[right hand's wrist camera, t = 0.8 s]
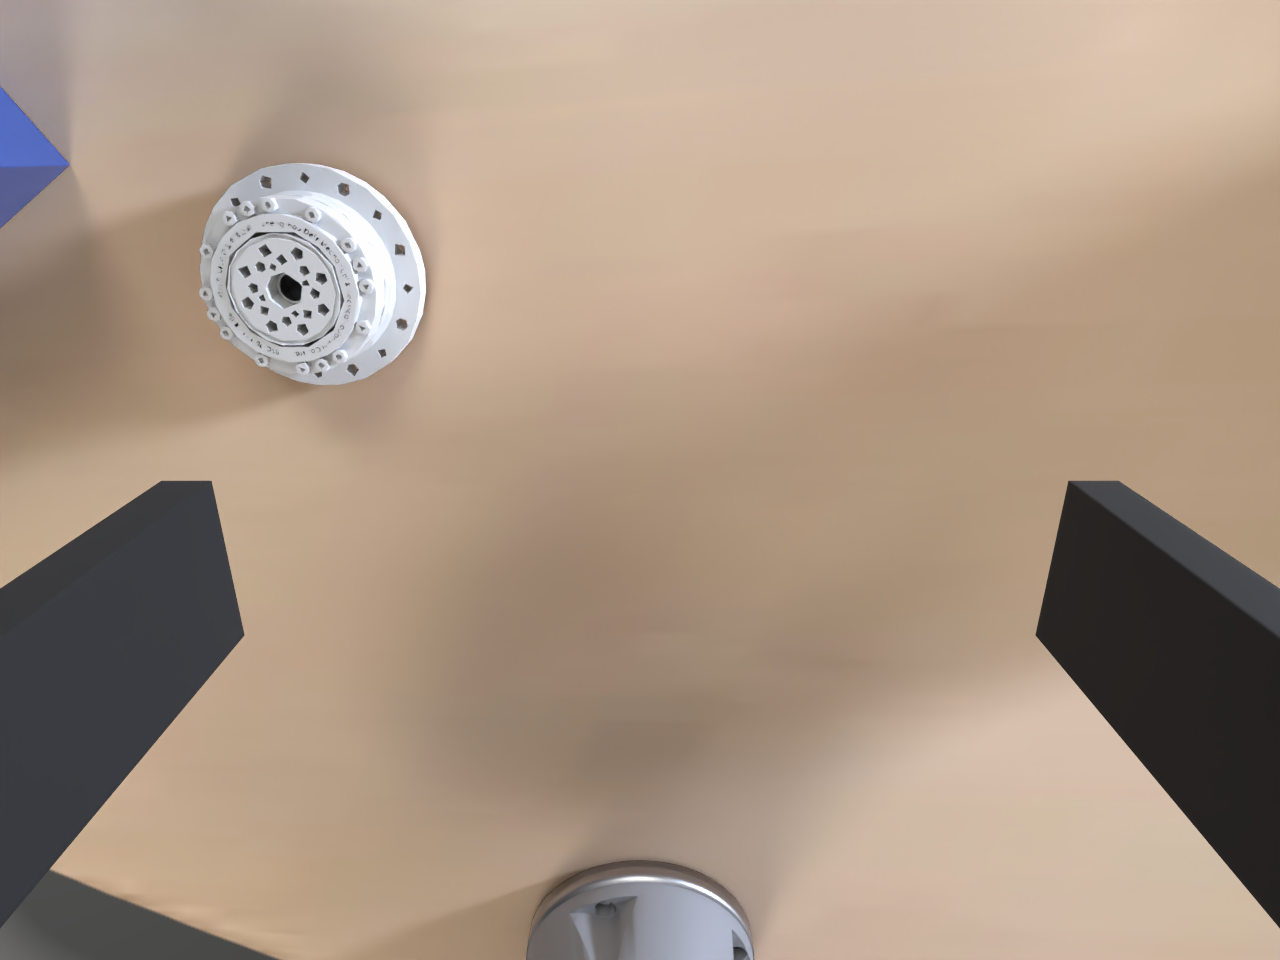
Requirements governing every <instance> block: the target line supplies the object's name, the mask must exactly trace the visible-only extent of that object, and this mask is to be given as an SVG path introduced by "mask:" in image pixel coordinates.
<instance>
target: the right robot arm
mask: <svg viewBox="0 0 1280 960" xmlns="http://www.w3.org/2000/svg"><path fill="white" fill-rule="evenodd" d="M243 636H244V631H243V626H242V622H241V617H240V612H239V608H238V603H237V598H236V594H235V589H234V584H233V580H232V575H231V570H230V566H229V561H228V556H227V551H226V547H225V542H224V537H223V533H222V528H221V523H220V519H219V514H218V509H217V505H216V500H215V495H214V491H213V486H212V481H161V482H159V483H158V484H156V485H155V486H153V487H152V488H150V489H149V490H147V491H146V492H144V493H143V494H141V495H140V496H138V497H137V498H135V499H134V500H132V501H131V502H129V503H128V504H126V505H125V506H123V507H122V508H120V509H119V510H117V511H116V512H114V513H113V514H111V515H110V516H108V517H107V518H105V519H104V520H102V521H101V522H99V523H98V524H96V525H95V526H93V527H92V528H90V529H89V530H87V531H86V532H84V533H83V534H81V535H80V536H78V537H77V538H75V539H74V540H72V541H71V542H69V543H68V544H66V545H65V546H63V547H62V548H60V549H59V550H57V551H56V552H54V553H53V554H51V555H50V556H48V557H47V558H46V559H44V560H43V561H41V562H40V563H38V564H37V565H35V566H34V567H32V568H31V569H29V570H28V571H26V572H25V573H23V574H22V575H20V576H19V577H17V578H16V579H14V580H13V581H11V582H10V583H8V584H7V585H5V586H4V587H2V588H1V589H0V928H1V927H2V925H3V924H4V923H5V922H6V921H7V919H8V918H9V917H10V916H11V914H12V913H13V912H14V911H15V910H16V908H17V907H18V906H19V905H20V904H21V903H22V901H23V900H24V899H25V898H26V897H27V895H28V894H29V893H30V892H31V891H32V889H33V888H34V887H35V886H36V885H37V883H38V882H39V881H40V880H41V879H42V877H43V876H44V875H45V874H46V873H47V871H48V870H49V869H50V868H51V867H52V865H53V864H54V863H55V862H56V861H57V859H58V858H59V857H60V856H61V855H62V853H63V852H64V851H65V850H66V849H67V847H68V846H69V845H70V844H71V843H72V841H73V840H74V839H75V838H76V837H77V835H78V834H79V833H80V832H81V831H82V829H83V828H84V827H85V826H86V825H87V823H88V822H89V821H90V820H91V819H92V817H93V816H94V815H95V814H96V813H97V811H98V810H99V809H100V808H101V807H102V805H103V804H104V803H105V802H106V801H107V799H108V798H109V797H110V796H111V795H112V793H113V792H114V791H115V790H116V789H117V787H118V786H119V785H120V784H121V783H122V781H123V780H124V779H125V778H126V777H127V775H128V774H129V773H130V772H131V771H132V769H133V768H134V767H135V766H136V765H137V763H138V762H139V761H140V760H141V759H142V757H143V756H144V755H145V754H146V753H147V751H148V750H149V749H150V748H151V747H152V745H153V744H154V743H155V742H156V741H157V739H158V738H159V737H160V736H161V735H162V733H163V732H164V731H165V730H166V729H167V727H168V726H169V725H170V724H171V723H172V721H173V720H174V719H175V718H176V717H177V715H178V714H179V713H180V712H181V711H182V709H183V708H184V707H185V706H186V705H187V703H188V702H189V701H190V700H191V699H192V697H193V696H194V695H195V694H196V693H197V691H198V690H199V689H200V688H201V687H202V685H203V684H204V683H205V682H206V681H207V679H208V678H209V677H210V676H211V675H212V674H213V672H214V671H215V670H216V669H217V668H218V666H219V665H220V664H221V663H222V662H223V660H224V659H225V658H226V657H227V656H228V654H229V653H230V652H231V651H232V650H233V648H234V647H235V646H236V645H237V644H238V642H239V641H240V640H241V639H242V638H243ZM1036 636H1037V638H1038V639H1039V640H1040V641H1041V642H1042V644H1043V645H1044V646H1045V647H1046V648H1047V650H1048V651H1049V652H1050V653H1051V654H1052V656H1053V657H1054V658H1055V659H1056V660H1057V662H1058V663H1059V664H1060V665H1061V666H1062V668H1063V669H1064V670H1065V671H1066V672H1067V674H1068V675H1069V676H1070V677H1071V678H1072V680H1073V681H1074V682H1075V683H1076V684H1077V685H1078V687H1079V688H1080V689H1081V690H1082V691H1083V693H1084V694H1085V695H1086V696H1087V697H1088V699H1089V700H1090V701H1091V702H1092V703H1093V705H1094V706H1095V707H1096V708H1097V709H1098V711H1099V712H1100V713H1101V714H1102V715H1103V717H1104V718H1105V719H1106V720H1107V721H1108V723H1109V724H1110V725H1111V726H1112V727H1113V729H1114V730H1115V731H1116V732H1117V733H1118V735H1119V736H1120V737H1121V738H1122V739H1123V741H1124V742H1125V743H1126V744H1127V745H1128V747H1129V748H1130V749H1131V750H1132V751H1133V753H1134V754H1135V755H1136V756H1137V757H1138V759H1139V760H1140V761H1141V762H1142V763H1143V765H1144V766H1145V767H1146V768H1147V769H1148V771H1149V772H1150V773H1151V774H1152V775H1153V777H1154V778H1155V779H1156V780H1157V781H1158V783H1159V784H1160V785H1161V786H1162V787H1163V789H1164V790H1165V791H1166V792H1167V793H1168V795H1169V796H1170V797H1171V798H1172V799H1173V801H1174V802H1175V803H1176V804H1177V805H1178V807H1179V808H1180V809H1181V810H1182V811H1183V813H1184V814H1185V815H1186V816H1187V817H1188V819H1189V820H1190V821H1191V822H1192V823H1193V825H1194V826H1195V827H1196V828H1197V829H1198V831H1199V832H1200V833H1201V834H1202V835H1203V837H1204V838H1205V839H1206V840H1207V841H1208V843H1209V844H1210V845H1211V846H1212V847H1213V849H1214V850H1215V851H1216V852H1217V853H1218V855H1219V856H1220V857H1221V858H1222V859H1223V861H1224V862H1225V863H1226V864H1227V865H1228V867H1229V868H1230V869H1231V870H1232V871H1233V873H1234V874H1235V875H1236V876H1237V877H1238V879H1239V880H1240V881H1241V882H1242V883H1243V885H1244V886H1245V887H1246V888H1247V889H1248V891H1249V892H1250V893H1251V894H1252V895H1253V897H1254V898H1255V899H1256V900H1257V901H1258V903H1259V904H1260V905H1261V906H1262V907H1263V909H1264V910H1265V911H1266V912H1267V913H1268V915H1269V916H1270V917H1271V918H1272V919H1273V921H1274V922H1275V923H1276V924H1277V925H1278V927H1279V928H1280V589H1279V588H1278V587H1276V586H1275V585H1273V584H1272V583H1270V582H1269V581H1267V580H1266V579H1264V578H1263V577H1261V576H1260V575H1258V574H1257V573H1255V572H1254V571H1252V570H1251V569H1249V568H1248V567H1246V566H1245V565H1243V564H1242V563H1240V562H1239V561H1237V560H1236V559H1234V558H1233V557H1232V556H1230V555H1229V554H1227V553H1226V552H1224V551H1223V550H1221V549H1220V548H1218V547H1217V546H1215V545H1214V544H1212V543H1211V542H1209V541H1208V540H1206V539H1205V538H1203V537H1202V536H1200V535H1199V534H1197V533H1196V532H1194V531H1193V530H1191V529H1190V528H1188V527H1187V526H1185V525H1184V524H1182V523H1181V522H1179V521H1178V520H1176V519H1175V518H1173V517H1172V516H1170V515H1169V514H1167V513H1166V512H1164V511H1163V510H1161V509H1160V508H1158V507H1157V506H1155V505H1154V504H1152V503H1151V502H1149V501H1148V500H1146V499H1145V498H1143V497H1142V496H1140V495H1139V494H1137V493H1136V492H1134V491H1133V490H1131V489H1130V488H1128V487H1127V486H1125V485H1124V484H1122V483H1121V482H1119V481H1068V486H1067V491H1066V495H1065V500H1064V505H1063V509H1062V514H1061V519H1060V523H1059V528H1058V533H1057V537H1056V542H1055V547H1054V551H1053V556H1052V561H1051V566H1050V570H1049V575H1048V580H1047V584H1046V589H1045V594H1044V598H1043V603H1042V608H1041V612H1040V617H1039V622H1038V626H1037V631H1036ZM526 960H754V951H753V944H752V936H751V930H750V925H749V922H748V919H747V916H746V914H745V912H744V910H743V908H742V907H741V905H740V904H739V902H738V901H737V900H736V899H735V898H734V897H733V895H732V894H731V893H729V892H728V891H727V890H726V889H725V888H724V887H723V886H721V885H720V884H719V883H717V882H716V881H714V880H712V879H711V878H709V877H707V876H705V875H703V874H701V873H699V872H696V871H694V870H692V869H689V868H686V867H682V866H679V865H675V864H670V863H664V862H658V861H622V862H615V863H610V864H605V865H601V866H597V867H594V868H591V869H588V870H586V871H583V872H581V873H579V874H577V875H575V876H573V877H571V878H569V879H568V880H566V881H564V882H563V883H561V884H560V885H559V886H557V887H556V888H555V889H554V890H553V891H552V892H551V893H550V894H549V895H548V896H547V897H546V898H545V899H544V900H543V902H542V903H541V904H540V906H539V907H538V909H537V911H536V913H535V915H534V918H533V920H532V923H531V928H530V934H529V941H528V948H527V957H526Z"/></svg>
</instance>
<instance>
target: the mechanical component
mask: <svg viewBox="0 0 1280 960" xmlns="http://www.w3.org/2000/svg"><path fill="white" fill-rule="evenodd" d="M270 180H271V183H270ZM347 185H349V192H347V191H346V190H345V189H346V186H347ZM380 213H382V215H381V217H380ZM400 245H403V246H405V253H402V252H401V248H400ZM199 251H200V254H201V264H200V275H201V282H202V288H200V291H199V295H200V297H201V298H202V299H203V300H205V302H206V304H207V306H208V308H209V310H208V311H207V316H208V317H209V319H210V320H212V321H215V323H216V324H217V325H218V326H219V328H220V336H221V337H222V338H223V339H225V340H229V341H230V342H231V343H232V344H233V345H234V346H235V347H237V348H238V349H239V350H241V351H242V352H243V353H245V354H246V355H247V356H249V357H250V358H251V359H253V360H255V362H256V364H257V365H258V366H261V367H267V368H269V369H270V370H272V371H274V372H275V373H277V374H280V375H282V376H285V377H288V378H290V379H293V380H296V381H299V382H305V383H310V384H316V385H341V384H345V383H349V382H353V381H357V380H360V379H364V378H367V377H369V376H370V375H372V374H373V373H375V372H377V371H378V370H380V369H381V368H383V367H384V366H386V365H388V364H389V363H390V362H392V361H393V360H394V359H395V358H396V357H397V356H398V355H399V354H400V353H401V351H402V350H403V349H404V348H405V347H406V346H407V344H408V343H409V342H410V341H411V340H412V338H413V336H414V333H415V331H416V329H417V326H418V324H419V322H420V319H421V317H422V315H423V309H424V302H425V296H426V279H425V268H424V264H423V260H422V256H421V252H420V250H419V248H418V245H417V243H416V241H415V239H414V237H413V235H412V233H411V231H410V229H409V227H408V225H407V223H406V221H405V220H404V219H403V217H402V216H401V215H400V214H399V213H398V212H397V210H396V209H395V208H394V207H393V206H392V205H391V203H390V202H389V201H388V200H387V199H386V198H385V197H384V196H383V195H382V194H380V193H379V192H378V191H377V190H375V189H374V188H373V187H371V186H370V185H369V184H368V183H366V182H365V181H363V180H361V179H359V178H357V177H355V176H353V175H351V174H349V173H347V172H345V171H343V170H339V169H335V168H331V167H327V166H324V165H320V164H306V163H289V164H281V165H276V166H270V167H265V168H260V169H259V170H257V171H255V172H253V173H252V174H250V175H248V176H247V177H245V178H243V179H241V180H240V181H238V182H236V183H234V184H233V185H231V186H230V187H229V189H228V190H227V191H226V192H225V194H224V195H223V196H222V197H221V199H220V200H219V201H218V202H217V204H216V205H215V206H214V208H213V210H212V212H211V215H210V217H209V219H208V221H207V223H206V226H205V230H204V235H203V240H202V245H201V248H200V249H199ZM409 286H411V287H413V288H411V287H409ZM402 319H404V320H406V321H407V325H408V326H407V325H406V324H404V323H403V322H402ZM356 367H357V368H358V369H356Z"/></svg>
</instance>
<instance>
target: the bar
mask: <svg viewBox="0 0 1280 960" xmlns="http://www.w3.org/2000/svg"><path fill="white" fill-rule="evenodd" d="M68 166H69V163H68V162H67V161H66V160H65V159H64V158H63V156H62V155H61V154H60V153H59V152H58V151H57V150H56V149H55V148H54V146H53V145H52V144H51V143H50V142H49V141H48V140H47V139H46V137H45V136H44V135H43V134H42V133H41V132H40V131H39V130H38V128H37V127H36V126H35V125H34V124H33V123H32V122H31V121H30V119H29V118H28V117H27V116H26V115H25V114H24V113H23V112H22V110H21V109H20V108H19V107H18V106H17V105H16V104H15V103H14V101H13V100H12V99H11V98H10V97H9V96H8V95H7V94H6V92H5V91H4V90H3V89H2V88H1V87H0V228H1V227H2V226H3V225H4V224H5V223H6V222H8V221H9V220H10V219H11V218H12V217H13V216H14V215H15V214H16V213H17V212H19V211H20V210H21V209H22V208H23V207H24V206H25V205H26V204H27V203H28V202H30V201H31V200H32V199H33V198H34V197H35V196H36V195H37V194H38V193H39V192H41V191H42V190H43V189H44V188H45V187H46V186H47V185H48V184H49V183H51V182H52V181H53V180H54V179H55V178H56V177H57V176H58V175H59V174H60V173H62V172H63V171H64V170H65V169H66V168H67V167H68Z"/></svg>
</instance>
